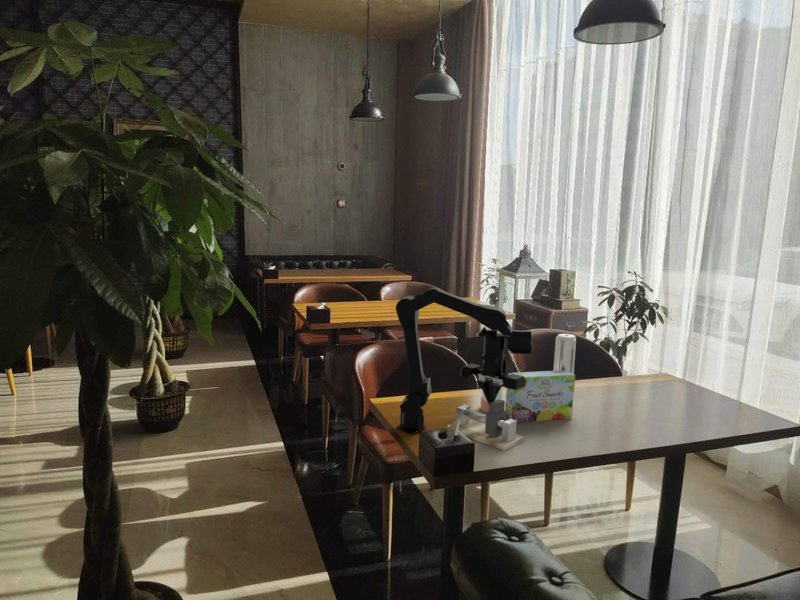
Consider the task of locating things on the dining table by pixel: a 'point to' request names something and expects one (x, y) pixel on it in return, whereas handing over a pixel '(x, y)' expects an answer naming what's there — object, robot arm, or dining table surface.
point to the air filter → (565, 352)
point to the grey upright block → (495, 417)
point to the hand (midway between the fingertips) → (490, 404)
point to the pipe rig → (466, 413)
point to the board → (478, 433)
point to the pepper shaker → (485, 404)
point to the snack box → (541, 397)
